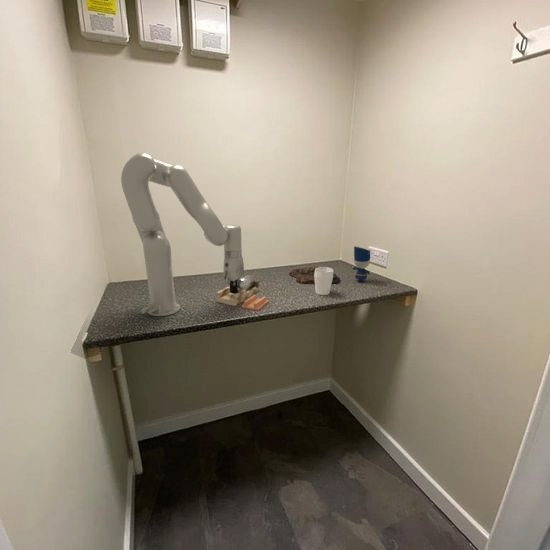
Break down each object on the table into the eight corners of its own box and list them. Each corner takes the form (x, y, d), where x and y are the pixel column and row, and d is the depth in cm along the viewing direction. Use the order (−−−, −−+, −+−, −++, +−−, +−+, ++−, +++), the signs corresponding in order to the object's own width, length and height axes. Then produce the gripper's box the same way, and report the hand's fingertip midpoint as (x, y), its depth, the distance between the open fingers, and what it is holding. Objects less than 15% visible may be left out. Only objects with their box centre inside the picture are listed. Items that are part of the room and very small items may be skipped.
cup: (316, 296, 135) (317, 272, 131) (311, 290, 143) (312, 267, 139) (334, 295, 136) (336, 271, 132) (328, 289, 144) (329, 266, 141)
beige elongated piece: (235, 306, 123) (235, 295, 121) (216, 301, 127) (216, 291, 126) (258, 290, 141) (258, 281, 140) (241, 287, 145) (241, 278, 144)
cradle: (257, 311, 118) (257, 304, 118) (241, 307, 122) (241, 301, 121) (268, 302, 127) (268, 296, 126) (253, 299, 130) (253, 293, 129)
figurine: (374, 283, 154) (378, 247, 148) (362, 286, 149) (367, 249, 143) (355, 277, 164) (359, 242, 158) (344, 279, 159) (347, 244, 153)
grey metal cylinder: (242, 295, 132) (244, 283, 129) (231, 290, 134) (233, 278, 131) (253, 288, 140) (255, 277, 138) (243, 284, 142) (245, 273, 140)
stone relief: (325, 262, 179) (349, 276, 151) (324, 269, 180) (348, 284, 153) (285, 265, 172) (303, 280, 145) (285, 272, 174) (302, 288, 146)
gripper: (230, 258, 116) (231, 300, 122) (249, 251, 129) (249, 289, 135) (215, 256, 119) (217, 296, 125) (235, 249, 132) (236, 286, 138)
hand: (234, 292), depth 130 cm, fingers closed
